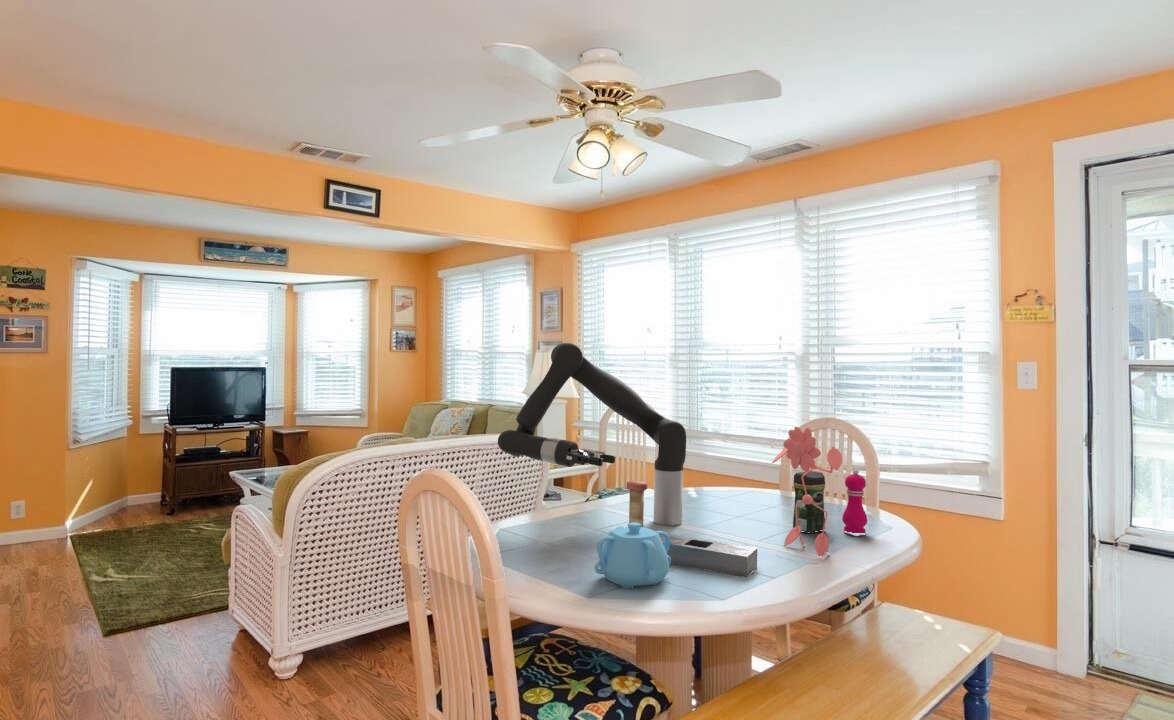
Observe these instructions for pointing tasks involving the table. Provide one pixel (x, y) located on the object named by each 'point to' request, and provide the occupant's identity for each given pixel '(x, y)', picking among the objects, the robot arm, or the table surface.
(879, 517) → the table surface
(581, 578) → the table surface
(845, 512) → the pepper mill
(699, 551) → the bar
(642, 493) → the oak pin
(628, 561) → the decorative pot
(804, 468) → the figurine
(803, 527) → the coffee jar
